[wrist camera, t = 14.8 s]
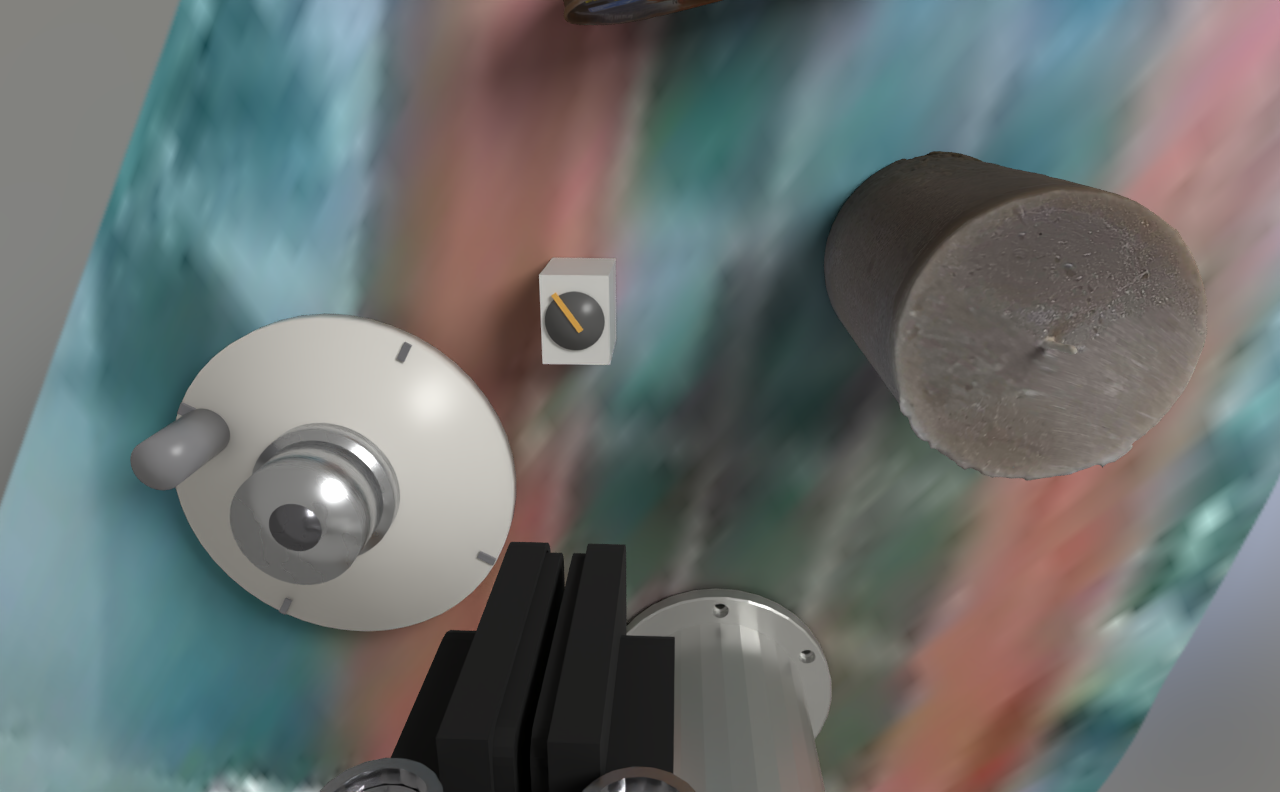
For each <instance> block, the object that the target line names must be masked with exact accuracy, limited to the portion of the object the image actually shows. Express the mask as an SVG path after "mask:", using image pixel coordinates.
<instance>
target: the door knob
mask: <svg viewBox="0 0 1280 792" xmlns="http://www.w3.org/2000/svg"><path fill="white" fill-rule="evenodd" d="M399 503H400V489H399V483H398V479H397V475H396V473H395V471H394V468H393V466H392V465H391V463H390V461H389V460H388V458H387V457H386V456H385V454H384V453H383V452H382V451H381V450H380V449H379V448H378V447H377V446H376V445H375V444H374V443H373V442H372V441H370V440H369V439H368V438H366V437H365V436H363V435H362V434H360V433H358V432H356V431H354V430H352V429H349V428H346V427H344V426H340V425H336V424H329V423H310V424H304V425H301V426H297V427H295V428H292V429H290V430H288V431H286V432H285V433H283V434H282V435H281V436H279V437H278V438H277V439H276V440H275V441H273V442H272V443H271V444H270V445H269V446H268V447H266V449H265V450H264V451H263V452H262V453H261V454H260V456H259V458H258V459H257V461H256V463H255V466H254V468H253V472H252V475H251V476H250V477H249V478H248V479H247V480H246V481H245V482H244V483H243V484H242V485H241V486H240V487H239V488H238V490H237V492H236V493H235V495H234V497H233V500H232V503H231V507H230V526H231V530H232V534H233V536H234V539H235V541H236V543H237V545H238V547H239V548H240V550H241V551H242V553H243V554H244V555H245V556H246V557H247V559H248V560H249V561H250V562H251V563H252V564H253V565H255V566H256V567H257V568H258V569H260V570H261V571H263V572H264V573H266V574H268V575H269V576H271V577H274V578H276V579H278V580H281V581H284V582H288V583H292V584H299V585H314V584H320V583H324V582H328V581H330V580H333V579H335V578H336V577H338V576H340V575H341V574H343V573H344V572H345V571H346V570H347V569H348V568H349V567H350V566H351V565H352V563H353V562H354V561H355V559H356V558H357V556H359V555H362V554H364V553H365V552H367V551H369V550H370V549H372V548H373V547H374V546H376V545H377V544H378V543H379V542H380V541H381V540H382V538H383V537H384V535H385V534H386V533H387V531H388V530H389V528H390V527H391V525H392V524H393V522H394V520H395V518H396V515H397V512H398V509H399Z"/></svg>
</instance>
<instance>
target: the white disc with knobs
mask: <svg viewBox="0 0 1280 792" xmlns="http://www.w3.org/2000/svg"><path fill="white" fill-rule="evenodd" d="M310 423H329V424H336V425H340V426H344V427H346V428H349V429H352V430H354V431H356V432H358V433H360V434H362V435H363V436H365V437H366V438H368V439H369V440H370V441H372V442H373V443H374V444H375V445H376V446H377V447H378V448H379V449H380V450H381V451H382V452H383V453H384V454H385V456H386V457H387V458H388V460H389V461H390V463H391V465H392V466H393V468H394V471H395V473H396V475H397V479H398V483H399V489H400V503H399V509H398V512H397V515H396V518H395V520H394V522H393V524H392V525H391V527H390V528H389V530H388V531H387V533H386V534H385V535H384V537H383V538H382V540H381V541H380V542H379V543H378V544H377V545H376V546H374V547H373V548H372V549H370V550H369V551H367V552H365V553H364V554H362V555H359V556H357V558H356V559H355V561H354V562H353V563H352V565H351V566H350V567H349V568H348V569H347V570H346V571H345V572H344V573H343V574H341V575H340V576H338V577H336V578H335V579H333V580H330V581H328V582H324V583H320V584H314V585H299V584H292V583H288V582H284V581H281V580H278V579H276V578H274V577H271V576H269V575H268V574H266V573H264V572H263V571H261V570H260V569H258V568H257V567H256V566H255V565H253V564H252V563H251V562H250V561H249V560H248V559H247V557H246V556H245V555H244V554H243V553H242V551H241V550H240V548H239V547H238V545H237V543H236V541H235V539H234V536H233V534H232V530H231V526H230V507H231V503H232V500H233V497H234V495H235V493H236V492H237V490H238V488H239V487H240V486H241V485H242V484H243V483H244V482H245V481H246V480H247V479H248V478H249V477H250V476H251V475H252V472H253V468H254V466H255V463H256V461H257V459H258V458H259V456H260V454H261V453H262V452H263V451H264V450H265V449H266V447H268V446H269V445H270V444H271V443H272V442H273V441H275V440H276V439H277V438H278V437H279V436H281V435H282V434H283V433H285V432H286V431H288V430H290V429H292V428H295V427H297V426H301V425H304V424H310ZM131 467H132V470H133V472H134V473H135V475H136V476H137V478H138V479H139V480H140V481H141V482H142V483H144V484H145V485H147V486H149V487H151V488H153V489H157V490H169V489H172V488H175V487H176V490H177V493H178V497H179V500H180V503H181V506H182V509H183V511H184V513H185V515H186V518H187V520H188V522H189V524H190V526H191V528H192V530H193V531H194V533H195V534H196V536H197V538H198V539H199V541H200V543H201V544H202V546H203V547H204V548H205V549H206V551H207V552H208V553H209V555H210V556H211V557H212V559H213V560H214V561H215V562H216V563H217V564H218V565H219V566H220V567H221V568H222V569H223V570H224V571H225V572H226V573H227V575H228V576H229V577H231V578H232V579H233V580H234V581H235V582H237V583H238V584H239V585H240V586H241V587H243V588H244V589H245V590H246V591H248V592H249V593H251V594H252V595H254V596H255V597H257V598H258V599H260V600H261V601H263V602H264V603H266V604H268V605H270V606H272V607H274V608H276V609H278V610H279V612H280V613H282V614H288V615H291V616H293V617H296V618H298V619H301V620H303V621H307V622H310V623H314V624H317V625H321V626H324V627H330V628H336V629H342V630H353V631H381V630H390V629H396V628H402V627H407V626H410V625H414V624H417V623H420V622H424V621H426V620H428V619H431V618H433V617H435V616H437V615H440V614H442V613H444V612H445V611H447V610H448V609H450V608H452V607H453V606H455V605H457V604H458V603H459V602H461V601H462V600H463V599H464V598H466V597H467V596H468V595H469V594H470V593H472V592H473V591H474V590H475V589H476V587H477V586H478V585H479V584H480V583H481V582H482V581H483V580H484V579H485V578H486V576H487V575H488V573H489V572H490V570H491V569H492V567H493V566H494V564H495V563H496V561H497V559H498V556H499V554H500V552H501V550H502V548H503V546H504V543H505V541H506V538H507V536H508V533H509V530H510V526H511V523H512V520H513V516H514V510H515V502H516V472H515V466H514V459H513V454H512V451H511V448H510V444H509V441H508V437H507V435H506V432H505V430H504V428H503V426H502V424H501V421H500V419H499V417H498V415H497V413H496V412H495V410H494V408H493V407H492V405H491V404H490V402H489V400H488V399H487V397H486V396H485V395H484V393H483V392H482V391H481V390H480V388H479V387H478V386H477V384H476V383H475V382H474V381H473V379H472V378H471V377H470V376H469V375H468V374H466V373H465V372H464V371H463V370H462V369H461V368H460V367H459V366H458V365H457V364H456V363H455V362H454V361H453V360H451V359H450V358H449V357H447V356H446V355H445V354H444V353H442V352H441V351H440V350H438V349H437V348H436V347H434V346H432V345H431V344H429V343H427V342H425V341H424V340H422V339H420V338H419V337H417V336H415V335H413V334H411V333H409V332H406V331H404V330H402V329H400V328H397V327H395V326H392V325H389V324H386V323H383V322H379V321H376V320H373V319H368V318H363V317H357V316H352V315H342V314H313V315H302V316H297V317H292V318H288V319H283V320H279V321H277V322H274V323H271V324H269V325H266V326H263V327H260V328H259V329H257V330H255V331H253V332H251V333H249V334H248V335H246V336H244V337H242V338H240V339H239V340H237V341H235V342H233V343H231V344H230V345H229V346H227V347H226V348H225V349H223V350H222V351H221V352H219V353H218V354H217V355H216V356H214V357H213V358H212V359H211V360H210V361H209V362H208V363H207V365H206V366H205V367H204V368H203V369H202V370H201V371H200V372H199V373H198V375H197V376H196V378H195V379H194V381H193V382H192V384H191V385H190V387H189V388H188V390H187V392H186V394H185V396H184V399H183V401H182V403H181V404H180V407H179V409H178V412H177V418H176V420H175V421H174V422H172V423H171V424H169V425H168V426H166V427H165V428H163V429H162V430H160V431H159V432H157V433H155V434H154V435H152V436H151V437H149V438H148V439H146V440H145V441H143V442H142V443H140V444H139V445H137V446H136V447H135V448H134V450H133V452H132V454H131Z"/></svg>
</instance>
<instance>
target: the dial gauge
mask: <svg viewBox="0 0 1280 792" xmlns="http://www.w3.org/2000/svg"><path fill="white" fill-rule="evenodd" d="M539 286H540V311H541V336H542V361H543V364H581V365H610V363H611V359H612V355H613V351H614V347H615V343H616V258H552V259H551V260H550V261H549V263H548V264H547V265H546V267H545V268H544V269H543V270H542V272H541V273H540V274H539Z"/></svg>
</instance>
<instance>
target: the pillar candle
mask: <svg viewBox="0 0 1280 792" xmlns="http://www.w3.org/2000/svg"><path fill="white" fill-rule="evenodd" d="M824 274H825V283H826V289H827V293H828V296H829V299H830V302H831V305H832V307H833V309H834V311H835V313H836V314H837V316H838V318H839V319H840V321H841V322H842V324H843V325H844V326H845V328H846V329H847V331H848V332H849V333H850V335H851V336H852V338H853V339H854V341H855V342H856V344H857V345H858V347H859V348H860V349H861V351H862V352H863V353H864V355H865V356H866V358H867V359H868V361H869V362H870V363H871V365H872V366H873V368H874V369H875V370H876V372H877V373H878V375H879V376H880V378H881V379H882V380H883V382H884V383H885V385H886V386H887V388H888V389H889V390H890V391H891V393H892V394H893V395H894V397H895V398H896V400H897V401H898V403H899V406H900V411H901V412H902V413H903V415H905V416H907V417H908V418H909V423H910V425H911V429H913V431H914V432H915V434H916V435H917V436H918V437H919V438H920V439H921V440H923V441H927V442H928V443H929V445H930V447H931V448H935V449H937V450H938V451H939V452H940V453H942V454H944V455H946V456H947V457H949V458H950V459H951V460H953V461H955V462H956V464H957V465H958V466H960V467H962V468H963V469H967V468H973V469H975V470H978V471H979V472H980V473H981V474H984V475H986V476H990V477H1006V478H1024V479H1025V480H1033V479H1040V478H1046V477H1053V476H1061V475H1068V474H1072V473H1074V472H1077V471H1080V470H1083V469H1086V468H1089V467H1091V466H1094V465H1097V464H1098V465H1101V466H1102V467H1103V466H1104V465H1106V464H1108V463H1111V462H1115V461H1116V460H1118V459H1119V458H1120V457H1122V456H1124V455H1125V454H1126V453H1127V452H1128V451H1129V450H1130V449H1131V448H1132V447H1133V446H1132V444H1133V443H1134V442H1135V441H1136V440H1138V439H1140V438H1141V437H1142V436H1143V435H1145V434H1146V433H1147V432H1148V430H1150V429H1151V428H1152V427H1154V426H1155V425H1157V424H1158V422H1159V421H1160V420H1161V418H1162V417H1163V416H1164V415H1165V414H1166V413H1167V412H1168V411H1169V410H1170V408H1171V407H1172V406H1173V405H1174V403H1175V402H1176V400H1177V399H1178V398H1179V396H1180V395H1181V394H1182V393H1183V391H1184V389H1185V388H1186V386H1187V384H1188V382H1189V380H1190V378H1191V376H1192V374H1193V372H1194V370H1195V367H1196V365H1197V362H1198V360H1199V357H1200V354H1201V352H1202V349H1203V347H1204V343H1205V339H1206V334H1207V299H1206V294H1205V288H1204V286H1203V282H1202V278H1201V275H1200V272H1199V270H1198V267H1197V265H1196V263H1195V260H1194V258H1193V256H1192V253H1191V251H1190V250H1189V248H1188V247H1187V245H1186V244H1185V242H1184V241H1183V240H1182V238H1181V236H1180V234H1179V232H1178V231H1177V230H1176V229H1174V228H1172V227H1171V226H1170V225H1169V224H1167V223H1166V222H1165V221H1164V220H1162V219H1161V218H1160V217H1158V216H1157V215H1156V214H1154V213H1153V212H1151V211H1150V210H1149V209H1147V208H1146V207H1144V206H1142V205H1141V204H1139V203H1137V202H1135V201H1133V200H1131V199H1129V198H1126V197H1123V196H1121V195H1118V194H1115V193H1111V192H1107V191H1104V190H1100V189H1097V188H1093V187H1089V186H1085V185H1081V184H1077V183H1073V182H1070V181H1066V180H1062V179H1058V178H1052V177H1049V176H1046V175H1042V174H1037V173H1031V172H1026V171H1022V170H1016V169H1012V168H1007V167H1003V166H1000V165H996V164H993V163H986V162H982V161H981V160H979V159H976V158H973V157H970V156H967V155H963V154H959V153H952V152H941V151H938V152H935V151H934V152H930V153H929V154H927V155H925V156H919V157H915V158H913V159H908V160H906V159H901V160H898V161H895V162H894V163H891V164H890V165H888V166H886V167H885V168H883V169H881V170H879V171H878V172H876V173H875V174H873V175H872V176H870V177H869V178H868V179H867V180H866V181H864V182H863V183H862V184H861V185H860V186H859V187H858V188H857V189H856V190H855V191H854V193H853V194H852V195H851V196H850V197H849V198H848V200H847V201H846V202H845V204H844V205H843V207H842V208H841V210H840V211H839V213H838V215H837V217H836V219H835V221H834V222H833V224H832V228H831V230H830V233H829V235H828V238H827V243H826V250H825V256H824Z"/></svg>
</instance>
